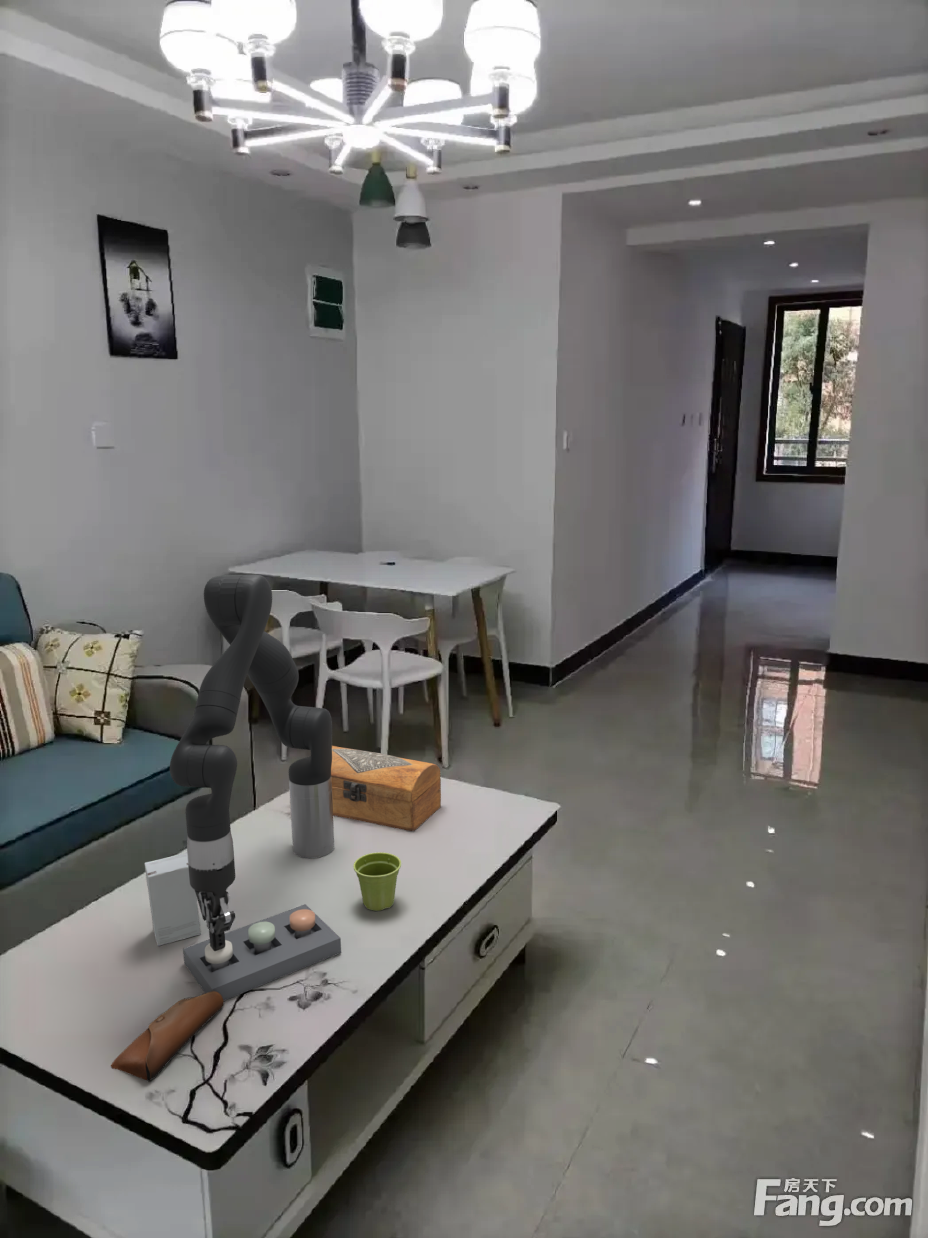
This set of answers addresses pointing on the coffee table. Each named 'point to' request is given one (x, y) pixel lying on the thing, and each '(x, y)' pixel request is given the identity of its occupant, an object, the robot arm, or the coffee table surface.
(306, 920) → the terracotta button
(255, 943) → the sage button
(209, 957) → the ivory button
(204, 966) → the console
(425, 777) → the wooden box
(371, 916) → the coffee table surface
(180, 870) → the skincare box
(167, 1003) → the coffee table surface
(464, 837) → the coffee table surface
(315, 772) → the robot arm
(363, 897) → the plant pot
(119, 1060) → the sunglasses case
